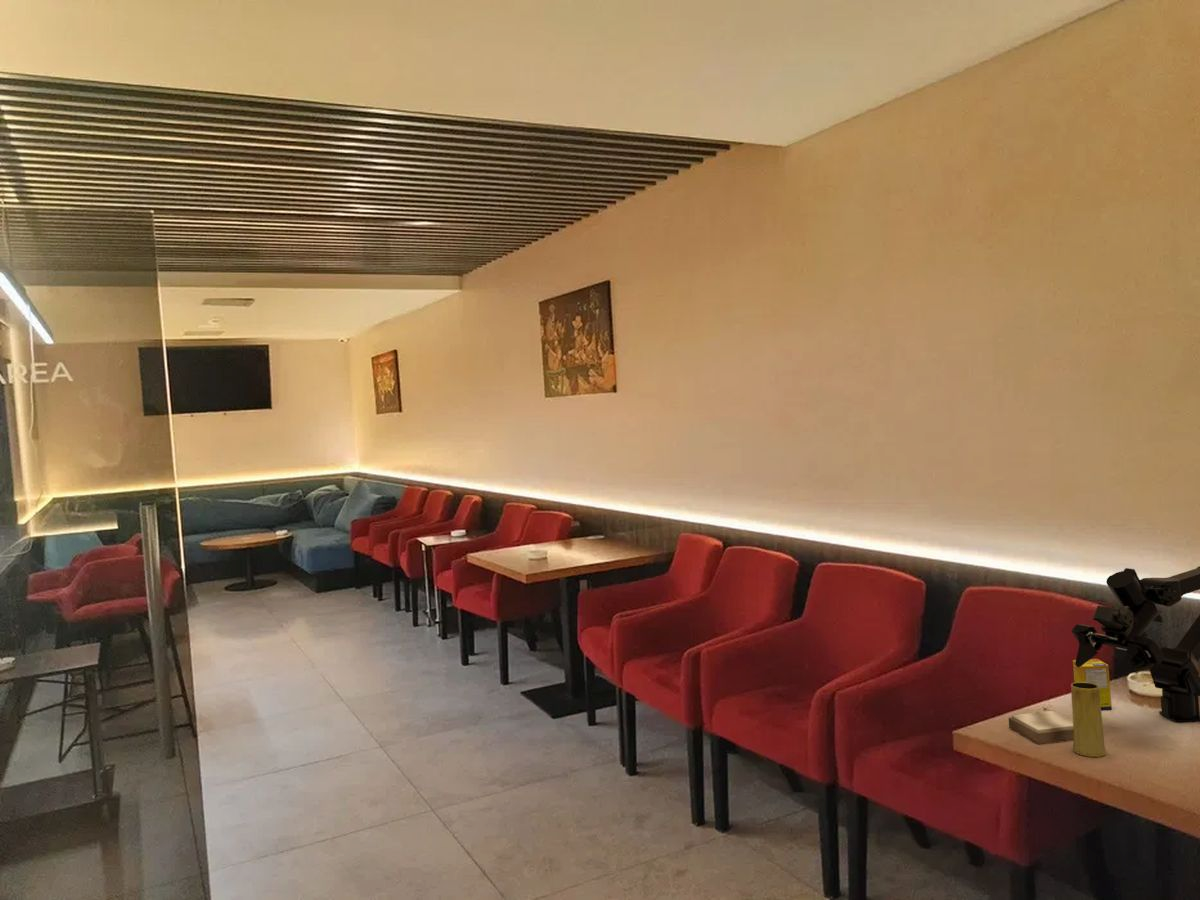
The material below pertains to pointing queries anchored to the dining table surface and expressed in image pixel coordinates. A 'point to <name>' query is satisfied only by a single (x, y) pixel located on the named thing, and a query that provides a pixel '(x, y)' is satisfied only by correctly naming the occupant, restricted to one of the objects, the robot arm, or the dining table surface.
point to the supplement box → (1095, 679)
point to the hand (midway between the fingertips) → (1095, 670)
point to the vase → (1087, 720)
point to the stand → (1042, 727)
